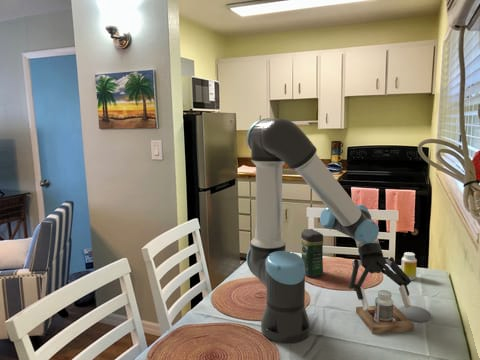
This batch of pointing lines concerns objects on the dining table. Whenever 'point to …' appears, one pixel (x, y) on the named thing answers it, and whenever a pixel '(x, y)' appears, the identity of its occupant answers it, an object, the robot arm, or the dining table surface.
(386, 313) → the pill bottle
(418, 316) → the coaster
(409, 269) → the supplement bottle
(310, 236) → the coffee jar
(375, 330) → the pocket
